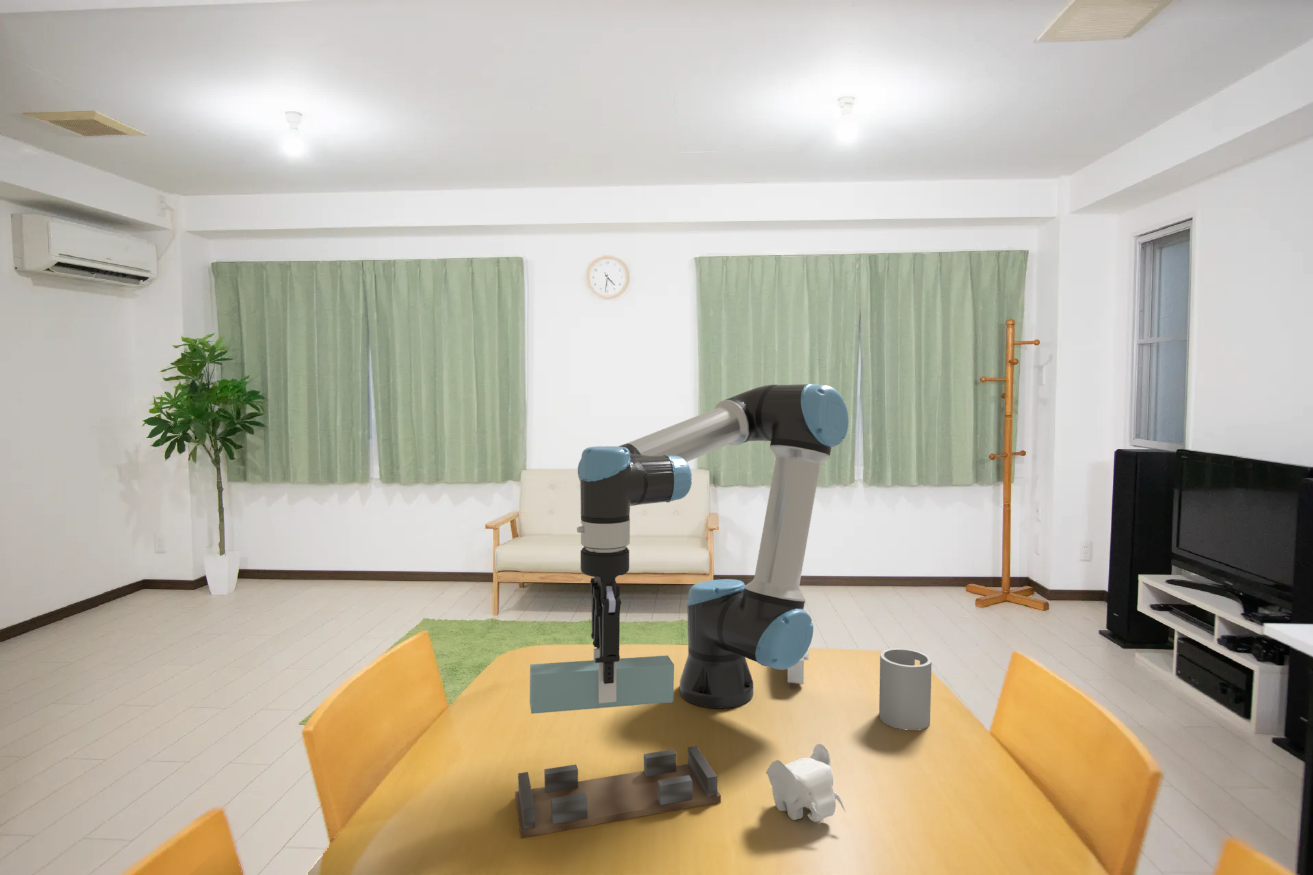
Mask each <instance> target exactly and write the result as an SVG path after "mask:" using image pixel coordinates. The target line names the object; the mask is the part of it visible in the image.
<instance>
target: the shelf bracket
mask: <svg viewBox="0 0 1313 875" xmlns="http://www.w3.org/2000/svg"><path fill="white" fill-rule="evenodd" d="M809 648H810V647H809ZM809 648H808V650H807V652H806V654H805V655H804V656H803V658H802V659H800V660H799V662H798V663H797V664H796V665H794V666H792V667H791V668H788V669H787V683H788V684H800V685H801V684H802V685H804V679H805V678H804V677H805V676H804V674H805V673H804V665H805V663H804V662H805V661H809V657H810V656H809V654H810V653H809V652H810V650H809Z"/></svg>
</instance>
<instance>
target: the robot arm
mask: <svg viewBox="0 0 1313 875" xmlns="http://www.w3.org/2000/svg"><path fill="white" fill-rule="evenodd" d="M848 411H849V410H848V408H847V404H846V403H845V401H844V398H843V396H842V395H841V393H840V392H839V391H838V390H836V389H835V388H834V387H832V386H830V385H825V384H814V383H806V384H768V385H763V386H759V387H755V388H752V389H750V390H746V391H744V392H741V393H739V394H736V395H734V396H731V397H729V398H725V399H723V400H721V401H719V402H717V404H716V405H715V407H714V409H711V410H709V411H706V412H704V413H701V414H699V415H696V416H693V417H691V418H689V419H686V420H683V421H680V422H678V423H676V424H673V425H671V426H668V427H665V428H662V429H661V430H656V431H655V432H652V433H650V434H647V435H645V436H643V437H639V438H637V439H634V440H632V441H629V442H626V443H624V444H621V445H618V446H610V445H609V446H608V445H607V446H602V445H599V446H590V447H589V446H588V447H586V448H585V449H584V450H583V451H582V453H581V458H580V460H579V462H578V466H577V476H578V479H579V483H580V485H579V486H580V487H579V488H580V524H581V526H577V527H576V532H577V533H580V544H581V545H582V546H583V548H581V550H580V572H581V573H582V574H583V575H585V576H588V577H591V578H590V580H589V582H590V592H591V634H590V637H591V639H592V640H593V642H592V645H593V660H595V662H596V663H598V702H599V703H608V702H616V669H617V662H619V659H621V655H620V636H621V635H620V630H621V628H620V624H621V623H620V622H621V621H620V620H621V619H620V617H621V605H622V600H621V598H620V595H621V593H620V591H621V590H620V585H617V581H616V578H618V577H619V576H624V575H626V574H628V572H629V570H630V549H629V548H628V546H629V545H630V543H631V541H630V540H631V537H630V536H631V535H630V534H631V533H630V532H631V529H630V528H631V518H630V514H631V513H630V511H631V507H632V506H633V507H634V506H639V505H647V504H649V505H650V504H658V503H670V502H674V501H678V500H681V499H684V498H685V497H686V496H687V495H688V494H689V493H690V490H691V487H692V476H693V475H692V473H693V472H692V470H691V468H690V465H689V463H688V462H690V461H692V460H695V459H697V458H699V457H702V456H704V455H707V454H709V453H710V452H713V451H716V450H718V449H721V448H722V447H725V446H728V445H730V446H739V445H742V444H744V443H747V442H756V441H759V442H761V441H763V442H770V444H769V449H770V451H771V452H772V453H773V454H774V457H775V459H774V467H773V472H772V477H771V482H770V489H769V494H768V498H767V500H768V501H767V506H766V511H765V516H764V522H763V527H762V534H761V538H760V539H761V540H760V544H759V550H758V553H757V554H758V556H757V560H756V567H755V571H754V572H755V573H754V577H753V580H751V581H750V582H748V583H746V584H745V582H744V581H742V580H739V579H732V578H724V579H711V580H705V581H700V582H697V583H695V584H693V585H692V586H691V587H690V588H689V590H688V594H687V596H688V597H687V598H688V599H687V600H688V601H687V603H686V606H687V607H686V608H687V647H688V649H687V650H688V652H687V659H686V661H685V664H684V668H683V669H682V673H681V676H680V679H679V694H680V696H681V697H682V698H683V699H684V700H685V701H686V702H689V703H691V704H693V705H696V706H699V707H703V708H710V709H727V708H728V709H729V708H734V707H738V706H742V705H745V704H746V703H747V702H749V701H751V700H752V698H753V697H754V681H753V678H752V675H751V671H750V668H749V665H748V662H747V659H748V660H751V661H753V662H756V663H758V664H759V665H760V666H762V667H769V668H771V669H775V670H788V668H791V667H792V666H794V665H796V664H797V663H798V662H799V660H800V659H802V658H803V656H804V655H805V654H806V652H807V650H808V648H810V646H811V643H812V639H813V636H814V624H813V622H812V621H813V620H812V617H811V615H810V614H809V613H808V612H807V611H805V604H806V598H805V596H804V594H803V593H802V591H800V590H801V589H800V584H801V577H802V571H803V565H804V562H805V561H804V560H805V556H806V548H807V543H808V538H809V532H810V527H811V526H810V525H811V521H812V516H813V515H812V514H813V509H814V503H815V497H816V492H817V491H816V490H817V486H818V479H819V474H820V468H821V465H822V464H823V463H825V462H826V461H827V460H828V459H830V458H831V450H832V448H835V447H837V446H839V445H840V444H841V443H843V440H845V439H846V437H847V434H848V430H849V425H850V424H849V423H850V422H849V421H850V420H849V419H850V418H849V412H848Z"/></svg>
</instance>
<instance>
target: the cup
mask: <svg viewBox="0 0 1313 875" xmlns="http://www.w3.org/2000/svg"><path fill="white" fill-rule="evenodd" d="M879 657H880V658H879V695H878V696H879V698H878V699H879V700H878V701H879V703H878V704H879V707H878V711H879V712H878V717H879V716H880V717H879V719H880V721H882V722H883V724H885V723H886V724H885V725H887V726H889V725H890V726H889V727H891V726H892V727H891V728H894V727H896V728H895V729H897V728H900V729H899V730H901V729H907V730H906V731H908V730H918V731H920V730H919V729H923V730H925V729H924V728H926V727H927V728H929V727H930V726H931V707H932V706H931V705H932V701H931V699H932V698H931V697H932V696H931V695H932V658H931V657H930V656H929V655H928V654H926V653H924V652H921V651H918V650H915V649H910V648H900V647H898V648H897V647H896V648H895V647H894V648H888V649H884V650H882V651H881V652H880V655H879ZM915 660H916V661H919V664H918V665H917V664H915ZM928 726H929V727H928ZM927 728H926V729H927Z"/></svg>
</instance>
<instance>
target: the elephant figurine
mask: <svg viewBox="0 0 1313 875" xmlns="http://www.w3.org/2000/svg"><path fill="white" fill-rule="evenodd" d="M765 773H766V775H767V776H768V779H769V780H768V781H769V783H770V785H771V789H772V790H771V792H772V796H773V800H774V804H775V806H776V808H777V811H779V812H787V816H788V817H789V818H790V819H791V820H793V821H797V820H800V819H803V817H804V808H807V809H808V810H809V811H810V812H809V813H807V817H808V818H809V819H810V820H811V821H812V822H814V823H818V822H821V821H824V819H826V818H829V817H832V816H834V814H835V812H836V805H837V804H836V803H837V802H836V801H838V803H839V804H840V805H841V808H842V809H843V811H844V812H846V810H845V806H844V804H843V801H842V798H841V796H840V794H839V793H837V792H836V791H835V790H834V788H833V787H834V786H833V785H834V774H833V770H832V764H831V757H830V753H829V751H828V749H827V748H826V746H824V744H822V743H818V744H816V745H815V746H814V747H813V748H812V754H811V755H810V757H802V758H799V759H798V758H797V759H796V760H793V761H791V762H788V763H786V764H784V763H783V762H782V761H781V760H779V759H776V760H774V761H772V762H771V764H770V765H769V766H768V768H767V769H766V771H765Z"/></svg>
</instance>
